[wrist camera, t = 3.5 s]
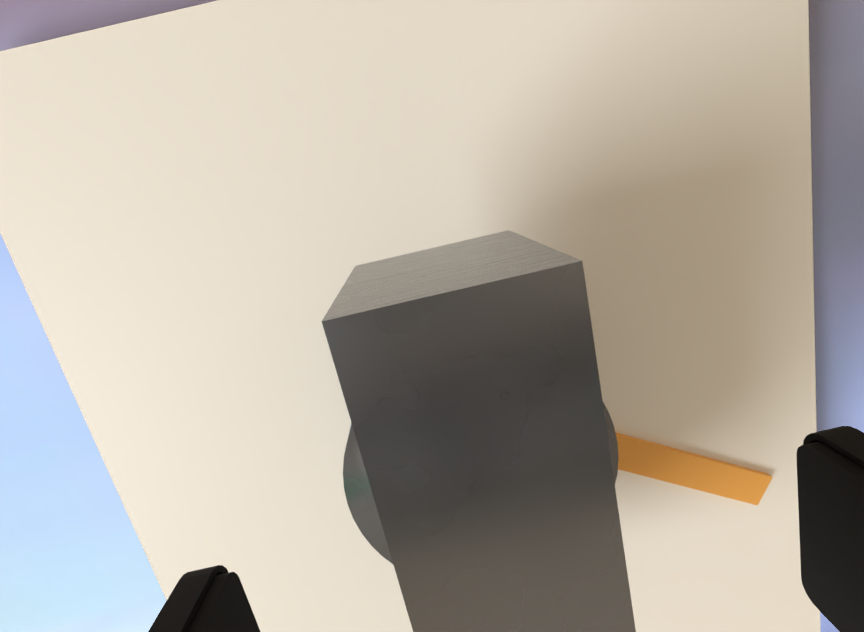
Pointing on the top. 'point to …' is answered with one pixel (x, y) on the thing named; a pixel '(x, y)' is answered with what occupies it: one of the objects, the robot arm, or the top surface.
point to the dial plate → (414, 231)
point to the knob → (482, 437)
